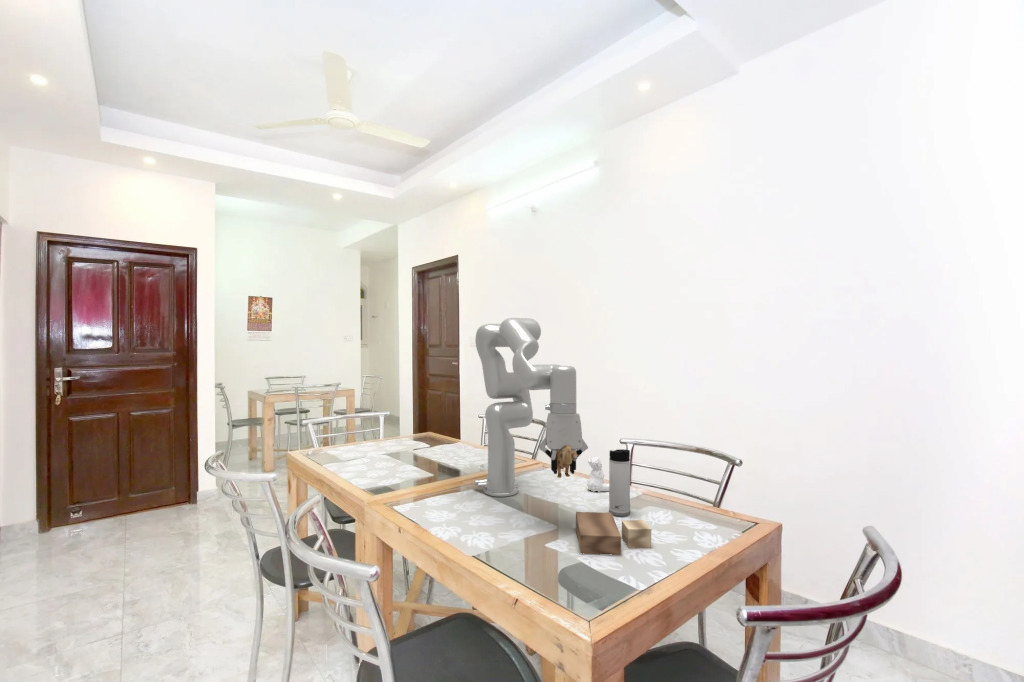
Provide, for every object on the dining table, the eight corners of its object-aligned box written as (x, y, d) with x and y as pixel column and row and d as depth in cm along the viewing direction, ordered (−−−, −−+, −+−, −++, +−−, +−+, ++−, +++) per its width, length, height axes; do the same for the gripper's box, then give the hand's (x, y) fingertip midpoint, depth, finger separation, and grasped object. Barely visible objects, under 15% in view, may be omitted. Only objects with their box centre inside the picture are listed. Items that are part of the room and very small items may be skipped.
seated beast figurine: (616, 491, 163) (616, 457, 163) (599, 495, 158) (599, 461, 158) (597, 484, 170) (597, 452, 171) (580, 488, 166) (580, 455, 166)
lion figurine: (579, 480, 126) (579, 447, 126) (561, 481, 124) (561, 448, 125) (561, 466, 140) (560, 437, 140) (544, 467, 139) (544, 438, 139)
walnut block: (580, 555, 114) (580, 535, 114) (575, 529, 130) (575, 511, 130) (620, 556, 113) (621, 536, 113) (611, 530, 129) (611, 512, 129)
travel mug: (619, 518, 137) (619, 452, 137) (605, 511, 143) (605, 447, 143) (635, 515, 140) (635, 450, 140) (620, 508, 146) (620, 445, 146)
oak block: (628, 548, 117) (628, 529, 117) (621, 538, 123) (621, 520, 123) (651, 548, 117) (651, 529, 117) (643, 538, 123) (643, 520, 123)
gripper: (535, 411, 127) (535, 476, 126) (595, 410, 128) (595, 475, 127) (532, 407, 134) (533, 469, 134) (589, 407, 135) (589, 468, 135)
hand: (563, 472), depth 131 cm, fingers closed on lion figurine, 4 cm apart
